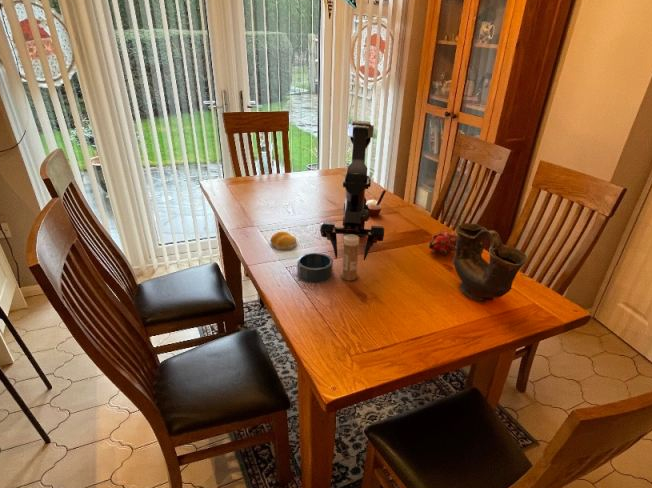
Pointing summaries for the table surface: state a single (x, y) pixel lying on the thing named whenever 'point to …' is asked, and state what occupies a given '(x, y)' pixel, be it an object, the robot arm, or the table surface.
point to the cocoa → (375, 206)
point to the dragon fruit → (443, 243)
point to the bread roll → (283, 240)
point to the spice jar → (350, 256)
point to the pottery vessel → (485, 263)
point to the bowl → (315, 267)
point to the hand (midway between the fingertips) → (350, 259)
